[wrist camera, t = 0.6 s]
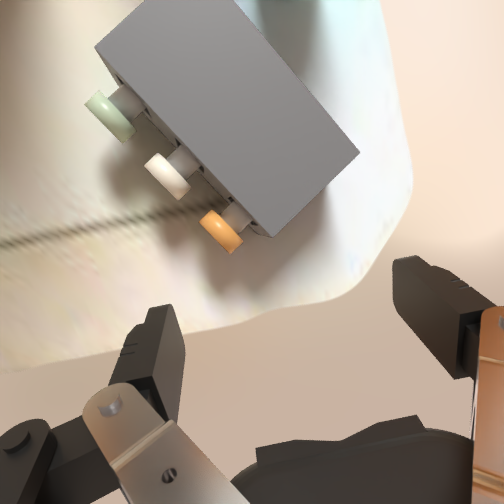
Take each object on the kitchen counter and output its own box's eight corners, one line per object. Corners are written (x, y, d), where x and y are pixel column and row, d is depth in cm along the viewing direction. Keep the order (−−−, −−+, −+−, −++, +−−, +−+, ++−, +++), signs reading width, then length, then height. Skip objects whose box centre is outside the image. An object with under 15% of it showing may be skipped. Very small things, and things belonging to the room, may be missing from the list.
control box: (120, 88, 33) (94, 46, 25) (196, 17, 33) (195, -46, 25) (257, 233, 36) (272, 237, 28) (326, 167, 36) (360, 152, 28)
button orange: (198, 221, 33) (198, 221, 29) (236, 185, 33) (241, 180, 29) (228, 252, 33) (232, 256, 29) (265, 216, 33) (273, 216, 29)
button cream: (147, 169, 32) (140, 162, 28) (187, 132, 32) (185, 119, 28) (179, 202, 32) (176, 199, 28) (217, 165, 32) (220, 157, 28)
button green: (93, 113, 30) (77, 97, 27) (134, 75, 31) (124, 53, 27) (127, 148, 31) (116, 137, 27) (167, 110, 31) (162, 94, 27)
